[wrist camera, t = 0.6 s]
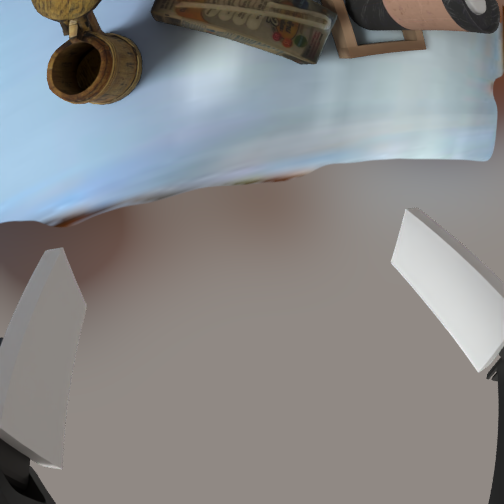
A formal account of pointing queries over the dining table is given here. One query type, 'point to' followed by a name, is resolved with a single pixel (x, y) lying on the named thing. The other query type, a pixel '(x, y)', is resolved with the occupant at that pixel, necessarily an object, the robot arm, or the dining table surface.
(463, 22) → the travel mug
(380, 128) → the dining table surface
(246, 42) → the beverage carton
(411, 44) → the collar
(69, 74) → the wooden mug
